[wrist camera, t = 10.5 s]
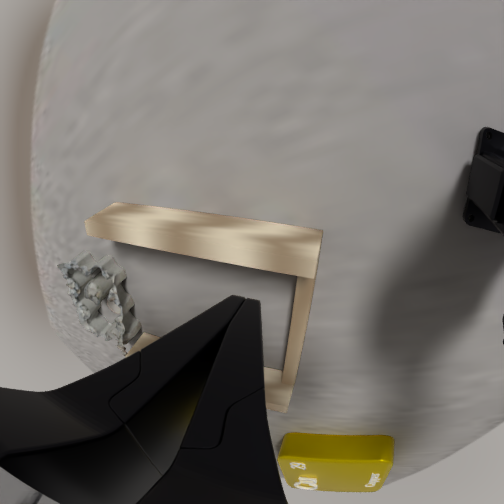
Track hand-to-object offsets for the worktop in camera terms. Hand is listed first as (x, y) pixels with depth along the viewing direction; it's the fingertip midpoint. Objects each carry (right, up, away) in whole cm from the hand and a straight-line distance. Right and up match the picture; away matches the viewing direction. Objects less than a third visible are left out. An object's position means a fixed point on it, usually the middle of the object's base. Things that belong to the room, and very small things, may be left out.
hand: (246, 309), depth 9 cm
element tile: (+13, -27, +27) cm, 40 cm away
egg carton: (-15, -3, +22) cm, 27 cm away
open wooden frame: (-3, -3, +17) cm, 18 cm away
